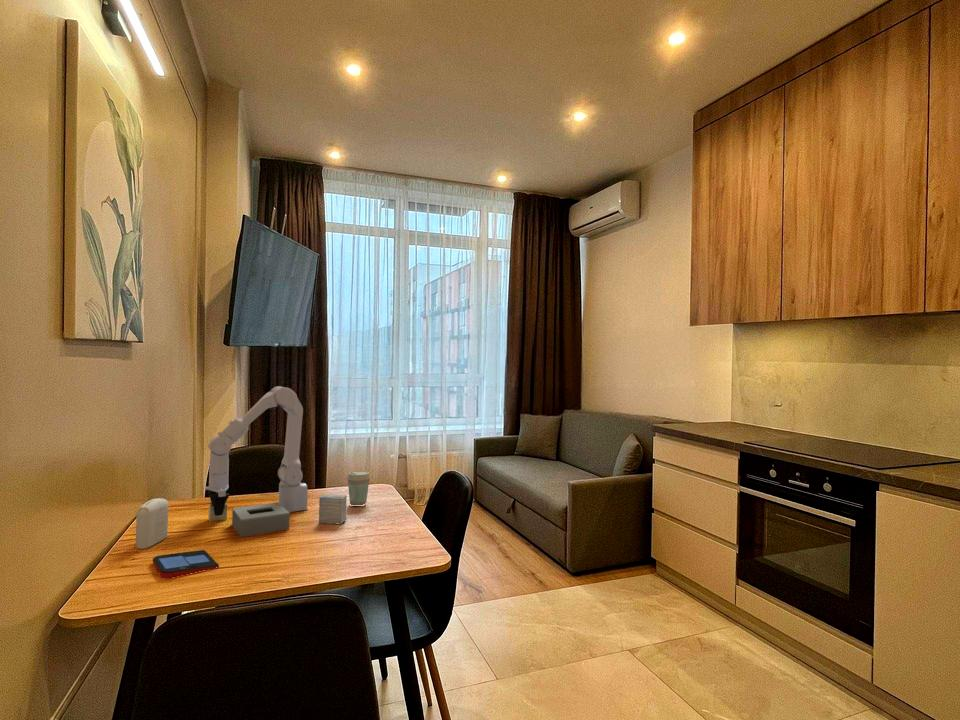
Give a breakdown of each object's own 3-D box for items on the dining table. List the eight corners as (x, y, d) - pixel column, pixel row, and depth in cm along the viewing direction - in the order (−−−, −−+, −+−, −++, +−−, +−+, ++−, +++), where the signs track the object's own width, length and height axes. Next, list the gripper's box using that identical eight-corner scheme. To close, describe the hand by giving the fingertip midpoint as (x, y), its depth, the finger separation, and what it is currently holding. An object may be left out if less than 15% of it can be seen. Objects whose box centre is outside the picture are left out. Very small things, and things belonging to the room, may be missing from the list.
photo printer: (155, 536, 150) (156, 495, 151) (169, 537, 151) (171, 495, 151) (132, 549, 140) (133, 504, 140) (148, 549, 140) (149, 504, 140)
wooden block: (225, 517, 171) (225, 502, 171) (226, 519, 168) (227, 504, 168) (208, 519, 168) (208, 504, 168) (209, 522, 165) (210, 506, 165)
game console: (219, 569, 129) (220, 561, 129) (161, 583, 121) (161, 573, 121) (205, 553, 140) (205, 545, 140) (150, 564, 131) (151, 555, 131)
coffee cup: (347, 502, 193) (348, 470, 193) (370, 501, 194) (371, 470, 194) (344, 508, 184) (345, 475, 185) (368, 508, 185) (369, 475, 185)
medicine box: (346, 520, 170) (347, 495, 170) (341, 525, 166) (342, 498, 166) (323, 519, 171) (324, 493, 171) (318, 523, 166) (319, 497, 166)
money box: (277, 517, 171) (277, 502, 171) (289, 529, 160) (289, 512, 160) (232, 524, 163) (232, 508, 163) (240, 537, 152) (241, 519, 152)
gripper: (202, 469, 172) (201, 510, 171) (208, 478, 160) (207, 521, 160) (225, 467, 176) (224, 507, 176) (233, 475, 164) (232, 518, 164)
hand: (217, 513), depth 168 cm, fingers closed on wooden block, 3 cm apart
